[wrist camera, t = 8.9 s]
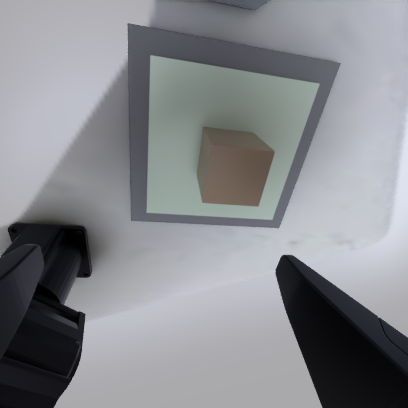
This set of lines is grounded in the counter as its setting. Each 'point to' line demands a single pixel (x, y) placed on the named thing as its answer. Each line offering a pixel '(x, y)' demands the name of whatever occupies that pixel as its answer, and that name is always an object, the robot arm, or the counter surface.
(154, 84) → the lid
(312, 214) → the counter surface
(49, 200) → the counter surface
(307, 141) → the mat
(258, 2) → the dish
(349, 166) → the counter surface
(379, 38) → the counter surface
